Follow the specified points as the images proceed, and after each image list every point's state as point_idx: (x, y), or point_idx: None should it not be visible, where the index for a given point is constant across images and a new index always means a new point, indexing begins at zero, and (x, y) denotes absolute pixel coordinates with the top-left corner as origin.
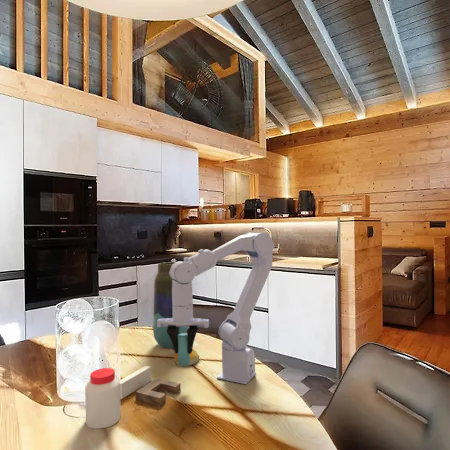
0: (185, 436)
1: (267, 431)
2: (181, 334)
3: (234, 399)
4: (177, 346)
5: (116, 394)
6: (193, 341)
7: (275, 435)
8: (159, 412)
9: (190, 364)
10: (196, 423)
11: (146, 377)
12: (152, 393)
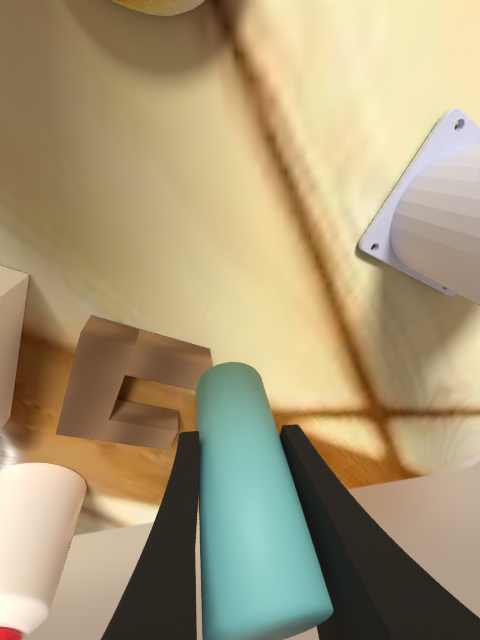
0: None
1: (405, 459)
2: (246, 627)
3: (380, 377)
4: (197, 503)
5: (60, 576)
6: (342, 495)
7: (413, 464)
8: None
9: (199, 3)
10: None
11: (9, 319)
12: (129, 434)
